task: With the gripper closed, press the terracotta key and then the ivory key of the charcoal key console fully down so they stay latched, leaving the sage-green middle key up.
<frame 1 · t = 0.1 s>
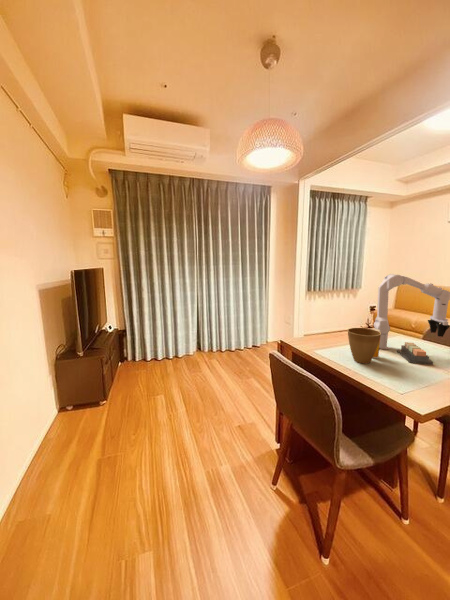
hand: (436, 334, 139), 10 cm above the table, fingers open, 7 cm apart
key terracotta: (419, 353, 125), point 5 cm above the table, slide at 0.0 cm
key ivory: (410, 346, 135), point 5 cm above the table, slide at 0.0 cm
beer can: (371, 356, 133), on the table
console: (413, 357, 131), on the table
plant pot: (361, 361, 128), on the table
key sage: (414, 349, 130), point 5 cm above the table, slide at 0.0 cm
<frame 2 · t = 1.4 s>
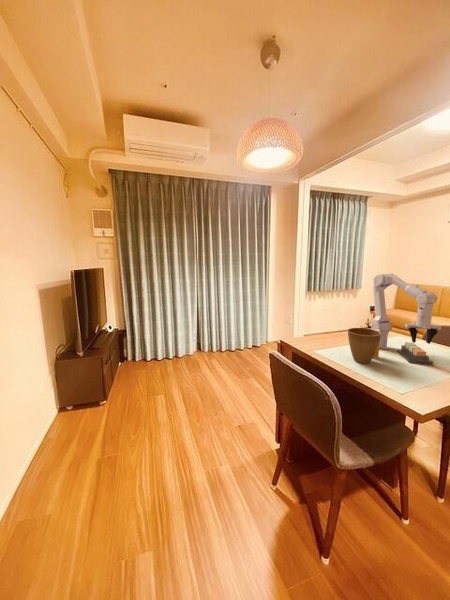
hand: (420, 342, 124), 10 cm above the table, fingers open, 6 cm apart
nothing on the table moved.
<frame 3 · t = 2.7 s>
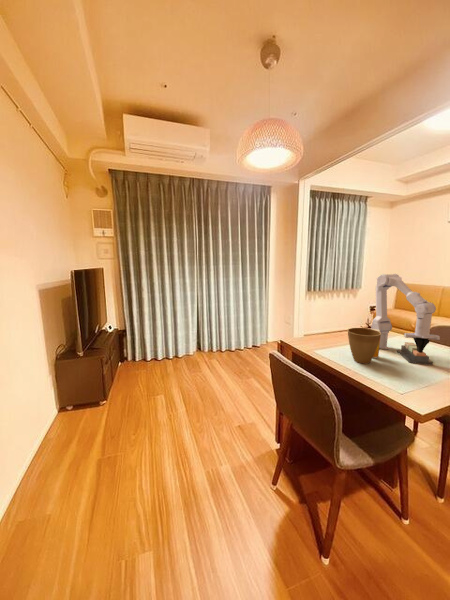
hand: (419, 352, 125), 5 cm above the table, fingers closed, pressing on key terracotta
key terracotta: (419, 354, 125), point 4 cm above the table, slide at 0.9 cm, touching gripper
everything else where it was.
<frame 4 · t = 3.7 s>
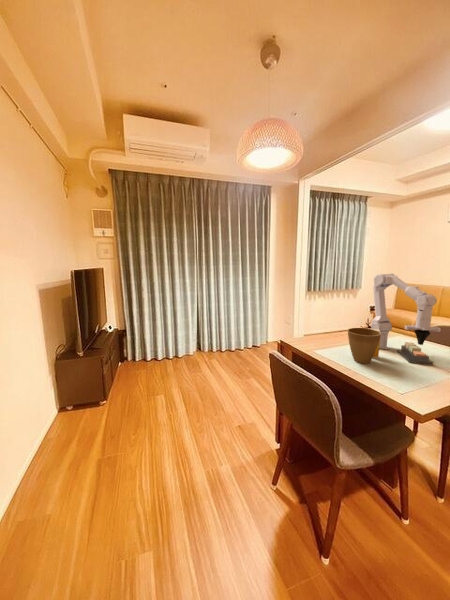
hand: (420, 344, 125), 9 cm above the table, fingers closed
key terracotta: (419, 355, 125), point 3 cm above the table, slide at 1.3 cm
everything else where it was.
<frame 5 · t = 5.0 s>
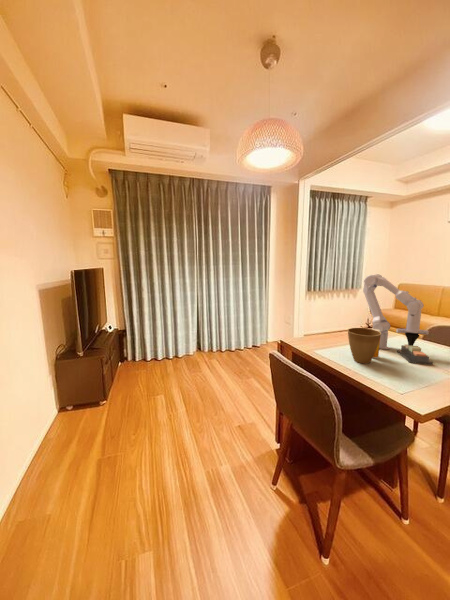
hand: (410, 345, 135), 5 cm above the table, fingers closed, pressing on key ivory
key ivory: (410, 348, 135), point 3 cm above the table, slide at 1.3 cm, touching gripper
everything else where it was.
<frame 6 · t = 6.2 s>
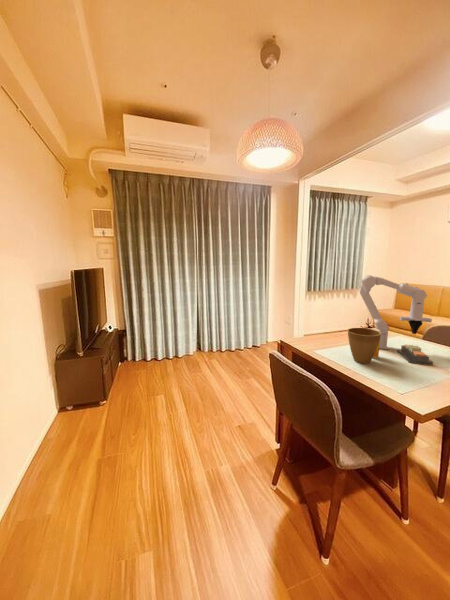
hand: (413, 333, 139), 10 cm above the table, fingers closed
key ivory: (410, 348, 135), point 3 cm above the table, slide at 1.3 cm
everything else where it was.
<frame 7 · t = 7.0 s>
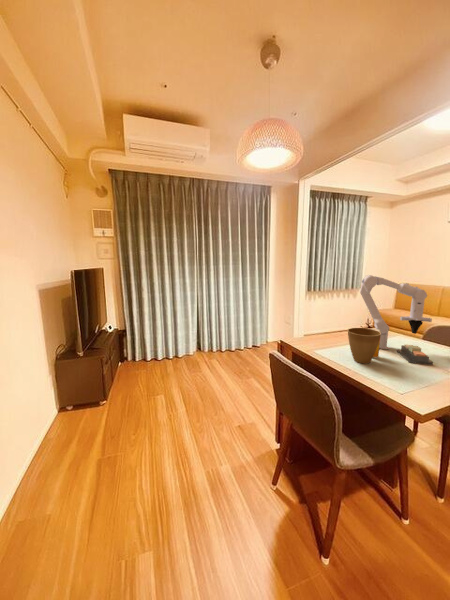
hand: (413, 333, 140), 10 cm above the table, fingers closed
nothing on the table moved.
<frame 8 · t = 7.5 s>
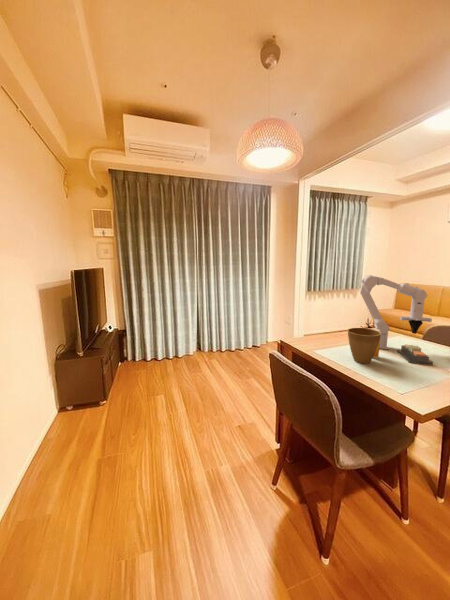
hand: (413, 333, 140), 10 cm above the table, fingers closed
nothing on the table moved.
at the end: key terracotta slide at 1.3 cm; key ivory slide at 1.3 cm; key sage slide at 0.0 cm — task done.
